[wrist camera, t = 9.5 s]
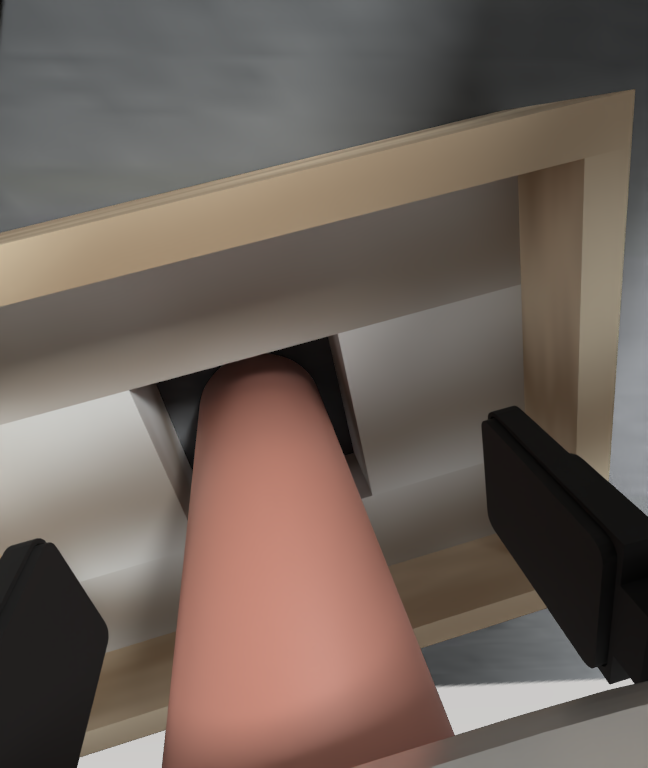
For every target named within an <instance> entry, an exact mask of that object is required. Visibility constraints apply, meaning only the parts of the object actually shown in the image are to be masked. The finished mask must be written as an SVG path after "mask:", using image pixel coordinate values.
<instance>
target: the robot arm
mask: <svg viewBox="0 0 648 768" xmlns="http://www.w3.org/2000/svg"><path fill="white" fill-rule="evenodd" d="M481 429H482V443H483V457H484V471H485V485H486V499H487V512H488V517H489V520H490V523H491V525H492V527H493V529H494V531H495V532H496V534H497V535H498V536H499V538H500V539H501V541H502V542H503V544H504V545H505V547H506V548H507V550H508V551H509V553H510V554H511V556H512V557H513V558H514V560H515V561H516V563H517V564H518V566H519V567H520V569H521V570H522V572H523V573H524V575H525V576H526V578H527V579H528V580H529V582H530V583H531V585H532V586H533V588H534V589H535V591H536V592H537V594H538V595H539V597H540V598H541V600H542V601H543V602H544V604H545V605H546V607H547V608H548V610H549V611H550V613H551V614H552V616H553V617H554V619H555V620H556V622H557V623H558V624H559V626H560V627H561V629H562V630H563V632H564V633H565V635H566V636H567V638H568V639H569V641H570V642H571V644H572V645H573V646H574V648H575V649H576V651H577V652H578V654H579V655H580V657H581V658H582V660H583V661H584V662H585V663H586V665H588V666H589V667H590V668H595V667H598V668H599V670H600V671H601V673H602V674H603V675H604V677H605V678H606V680H607V681H608V683H609V684H613V683H616V682H619V681H622V680H625V679H628V678H631V679H632V681H633V682H634V683H635V684H633V685H629V686H624V687H619V688H616V689H611V690H607V691H604V692H600V693H596V694H593V695H589V696H586V697H583V698H579V699H576V700H572V701H569V702H565V703H562V704H558V705H555V706H551V707H548V708H544V709H541V710H538V711H534V712H530V713H527V714H524V715H520V716H517V717H513V718H511V719H507V720H504V721H501V722H497V723H494V724H491V725H488V726H484V727H481V728H478V729H475V730H471V731H468V732H465V733H462V734H458V735H455V736H452V737H449V738H446V739H442V740H439V741H436V742H433V743H429V744H426V745H423V746H420V747H416V748H413V749H410V750H407V751H404V752H400V753H397V754H394V755H391V756H387V757H384V758H381V759H378V760H374V761H371V762H368V763H365V764H362V765H359V766H355V767H352V768H648V516H646V515H645V514H644V513H643V512H642V511H641V510H640V509H639V508H637V507H636V506H635V505H634V504H633V503H632V502H631V501H630V500H628V499H627V498H626V497H625V496H624V495H623V494H622V493H621V492H620V491H618V490H617V489H616V488H615V487H614V486H613V485H612V484H611V483H609V482H608V481H607V480H606V479H605V478H604V477H603V476H602V475H600V474H599V473H598V472H597V471H596V470H595V469H594V468H593V467H591V466H590V465H589V464H588V463H587V462H586V461H585V460H584V459H582V458H581V457H580V456H578V455H577V454H573V453H569V452H567V451H566V450H565V449H564V448H563V447H562V446H561V445H560V444H559V443H558V442H556V441H555V440H554V439H553V438H552V437H551V436H550V435H549V434H548V433H547V432H545V431H544V430H543V429H542V428H541V427H540V426H539V425H538V424H537V423H536V422H535V421H533V420H532V419H531V418H530V417H529V416H528V415H527V414H526V413H525V412H524V411H522V410H521V409H520V408H519V407H517V406H510V407H507V408H503V409H500V410H496V411H492V412H490V413H489V414H488V420H485V421H483V422H482V424H481ZM108 639H109V633H108V628H107V625H106V623H105V621H104V620H103V618H102V617H101V615H100V613H99V612H98V610H97V609H96V607H95V606H94V604H93V603H92V601H91V599H90V598H89V596H88V595H87V593H86V592H85V590H84V589H83V587H82V586H81V584H80V582H79V581H78V579H77V578H76V576H75V575H74V573H73V572H72V570H71V569H70V567H69V565H68V564H67V562H66V561H65V559H64V558H63V556H62V555H61V553H60V552H59V550H58V548H57V547H56V546H55V545H54V544H53V543H51V542H48V543H46V541H45V540H43V539H41V538H36V539H33V540H29V541H26V542H22V543H18V544H15V545H11V546H9V547H8V548H7V549H6V550H5V551H4V553H3V555H2V557H1V558H0V768H77V765H78V761H79V757H80V753H81V749H82V745H83V741H84V737H85V733H86V729H87V725H88V721H89V717H90V713H91V709H92V705H93V701H94V697H95V693H96V689H97V685H98V681H99V677H100V673H101V669H102V665H103V661H104V657H105V653H106V649H107V645H108Z"/></svg>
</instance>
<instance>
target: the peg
mask: <svg viewBox="0 0 648 768" xmlns="http://www.w3.org/2000/svg"><path fill="white" fill-rule="evenodd" d="M452 736H455V735H454V732H453V730H452V727H451V725H450V722H449V720H448V717H447V715H446V712H445V710H444V707H443V705H442V702H441V700H440V697H439V694H438V692H437V689H436V687H435V684H434V682H433V679H432V677H431V674H430V672H429V669H428V667H427V664H426V662H425V659H424V657H423V654H422V651H421V649H420V646H419V644H418V641H417V639H416V636H415V634H414V631H413V629H412V626H411V624H410V621H409V619H408V616H407V613H406V611H405V608H404V606H403V603H402V601H401V598H400V596H399V593H398V591H397V588H396V586H395V583H394V581H393V578H392V575H391V573H390V570H389V568H388V565H387V563H386V560H385V558H384V555H383V553H382V550H381V548H380V545H379V543H378V540H377V538H376V535H375V532H374V530H373V527H372V525H371V522H370V520H369V517H368V515H367V512H366V510H365V507H364V505H363V502H362V500H361V497H360V494H359V492H358V489H357V487H356V484H355V482H354V479H353V477H352V474H351V472H350V469H349V467H348V464H347V462H346V459H345V456H344V454H343V451H342V449H341V446H340V444H339V441H338V439H337V436H336V434H335V431H334V429H333V426H332V424H331V421H330V419H329V416H328V413H327V411H326V408H325V406H324V403H323V401H322V398H321V396H320V393H319V391H318V388H317V386H316V384H315V382H314V380H313V379H312V377H311V376H310V374H309V373H308V372H307V371H306V370H305V369H304V368H303V367H301V366H300V365H299V364H297V363H296V362H294V361H293V360H290V359H288V358H286V357H283V356H279V355H275V354H268V353H265V354H261V355H257V356H254V357H250V358H246V359H243V360H239V361H235V362H232V363H228V364H225V365H223V366H222V367H221V368H220V369H218V370H217V371H216V372H215V373H214V374H213V376H212V377H211V378H210V379H209V381H208V382H207V384H206V386H205V388H204V390H203V393H202V396H201V400H200V407H199V417H198V427H197V436H196V446H195V455H194V465H193V474H192V484H191V494H190V503H189V513H188V522H187V532H186V542H185V551H184V561H183V570H182V580H181V589H180V599H179V609H178V618H177V628H176V637H175V647H174V656H173V666H172V676H171V685H170V695H169V704H168V714H167V724H166V733H165V743H164V752H163V762H162V768H352V767H355V766H359V765H362V764H365V763H368V762H371V761H374V760H378V759H381V758H384V757H387V756H391V755H394V754H397V753H400V752H404V751H407V750H410V749H413V748H416V747H420V746H423V745H426V744H429V743H433V742H436V741H439V740H442V739H446V738H449V737H452Z"/></svg>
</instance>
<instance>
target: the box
mask: <svg viewBox="0 0 648 768" xmlns="http://www.w3.org/2000/svg"><path fill="white" fill-rule="evenodd" d="M634 99H635V89H632V90H626V91H620V92H614V93H608V94H601V95H595V96H589V97H583V98H577V99H570V100H564V101H558V102H552V103H546V104H540V105H533V106H527V107H521V108H515V109H509V110H502V111H498V112H494V113H490V114H486V115H482V116H478V117H474V118H470V119H466V120H461V121H457V122H453V123H449V124H445V125H441V126H437V127H433V128H429V129H424V130H420V131H416V132H412V133H408V134H404V135H400V136H396V137H392V138H388V139H383V140H379V141H375V142H371V143H367V144H363V145H359V146H355V147H351V148H347V149H342V150H338V151H334V152H330V153H326V154H322V155H318V156H314V157H310V158H306V159H301V160H297V161H293V162H289V163H285V164H281V165H277V166H273V167H269V168H265V169H260V170H256V171H252V172H248V173H244V174H240V175H236V176H232V177H228V178H224V179H219V180H215V181H211V182H207V183H203V184H199V185H195V186H191V187H187V188H183V189H178V190H174V191H170V192H166V193H162V194H158V195H154V196H150V197H146V198H142V199H137V200H133V201H129V202H125V203H121V204H117V205H113V206H109V207H105V208H101V209H96V210H92V211H88V212H84V213H80V214H76V215H72V216H68V217H64V218H60V219H55V220H51V221H47V222H43V223H39V224H35V225H31V226H27V227H23V228H18V229H14V230H10V231H6V232H2V233H0V558H1V557H2V555H3V553H4V551H5V550H6V549H7V548H8V547H9V546H11V545H15V544H18V543H22V542H26V541H29V540H33V539H36V538H41V539H43V540H45V541H46V543H48V542H51V543H53V544H54V545H55V546H56V547H57V548H58V550H59V552H60V553H61V555H62V556H63V558H64V559H65V561H66V562H67V564H68V565H69V567H70V569H71V570H72V572H73V573H74V575H75V576H76V578H77V579H78V581H79V582H80V584H81V586H82V587H83V589H84V590H85V592H86V593H87V595H88V596H89V598H90V599H91V601H92V603H93V604H94V606H95V607H96V609H97V610H98V612H99V613H100V615H101V617H102V618H103V620H104V621H105V623H106V625H107V628H108V633H109V639H108V645H107V649H106V653H105V657H104V661H103V665H102V669H101V673H100V677H99V681H98V685H97V689H96V693H95V697H94V701H93V705H92V709H91V713H90V717H89V721H88V725H87V729H86V733H85V737H84V741H83V745H82V749H81V753H80V757H82V756H86V755H88V754H92V753H95V752H98V751H101V750H104V749H107V748H111V747H114V746H117V745H120V744H123V743H126V742H129V741H132V740H136V739H138V738H142V737H145V736H148V735H151V734H154V733H158V732H161V731H164V730H166V724H167V714H168V704H169V695H170V685H171V676H172V666H173V656H174V647H175V637H176V628H177V618H178V609H179V599H180V589H181V580H182V570H183V561H184V551H185V542H186V532H187V522H188V513H189V503H190V494H191V484H192V474H193V472H192V469H191V467H190V464H189V462H188V460H187V457H186V455H185V453H184V450H183V448H182V445H181V443H180V441H179V438H178V436H177V433H176V431H175V429H174V426H173V424H172V421H171V419H170V417H169V414H168V412H167V410H166V407H165V405H164V402H163V400H162V398H161V395H160V393H159V390H158V388H157V386H156V383H158V382H161V381H165V380H169V379H172V378H176V377H180V376H183V375H187V374H191V373H195V372H198V371H202V370H206V369H209V368H213V367H217V366H220V365H224V364H228V363H232V362H235V361H239V360H243V359H246V358H250V357H254V356H257V355H261V354H265V353H269V352H272V351H276V350H280V349H283V348H287V347H291V346H294V345H298V344H302V343H306V342H309V341H313V340H317V339H320V338H324V337H328V339H329V343H330V348H331V352H332V357H333V361H334V366H335V370H336V374H337V379H338V383H339V388H340V392H341V397H342V401H343V406H344V410H345V414H346V419H347V423H348V428H349V432H350V437H351V441H352V446H353V450H354V453H352V454H348V455H345V459H346V462H347V464H348V467H349V469H350V472H351V474H352V477H353V479H354V482H355V484H356V487H357V489H358V492H359V494H360V497H361V500H362V502H363V505H364V507H365V510H366V512H367V515H368V517H369V520H370V522H371V525H372V527H373V530H374V532H375V535H376V538H377V540H378V543H379V545H380V548H381V550H382V553H383V555H384V558H385V560H386V563H387V565H388V568H389V570H390V573H391V575H392V578H393V581H394V583H395V586H396V588H397V591H398V593H399V596H400V598H401V601H402V603H403V606H404V608H405V611H406V613H407V616H408V619H409V621H410V624H411V626H412V629H413V631H414V634H415V636H416V639H417V641H418V644H419V646H420V648H424V647H427V646H430V645H433V644H436V643H439V642H442V641H445V640H449V639H452V638H455V637H458V636H461V635H464V634H467V633H470V632H474V631H477V630H480V629H483V628H486V627H489V626H492V625H496V624H499V623H502V622H505V621H508V620H511V619H514V618H517V617H521V616H524V615H527V614H530V613H533V612H536V611H539V610H542V609H546V608H547V607H546V605H545V604H544V602H543V601H542V600H541V598H540V597H539V595H538V594H537V592H536V591H535V589H534V588H533V586H532V585H531V583H530V582H529V580H528V579H527V578H526V576H525V575H524V573H523V572H522V570H521V569H520V567H519V566H518V564H517V563H516V561H515V560H514V558H513V557H512V556H511V554H510V553H509V551H508V550H507V548H506V547H505V545H504V544H503V542H502V541H501V539H500V538H499V536H498V535H497V534H496V532H495V531H494V529H493V527H492V525H491V523H490V520H489V517H488V512H487V499H486V485H485V471H484V457H483V443H482V429H481V424H482V422H483V421H485V420H488V414H489V413H490V412H492V411H496V410H500V409H503V408H507V407H510V406H517V407H519V408H520V409H521V410H522V411H524V412H525V413H526V414H527V415H528V416H529V417H530V418H531V419H532V420H533V421H535V422H536V423H537V424H538V425H539V426H540V427H541V428H542V429H543V430H544V431H545V432H547V433H548V434H549V435H550V436H551V437H552V438H553V439H554V440H555V441H556V442H558V443H559V444H560V445H561V446H562V447H563V448H564V449H565V450H566V451H567V452H569V453H573V454H577V455H578V456H580V457H581V458H582V459H584V460H585V461H586V462H587V463H588V464H589V465H590V466H591V467H593V468H594V469H595V470H596V471H597V472H598V473H599V474H600V475H602V476H603V477H604V478H605V479H606V480H607V481H608V482H609V470H610V455H611V440H612V425H613V410H614V395H615V381H616V366H617V351H618V336H619V321H620V307H621V292H622V277H623V262H624V247H625V232H626V218H627V203H628V188H629V173H630V158H631V144H632V129H633V114H634Z"/></svg>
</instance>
